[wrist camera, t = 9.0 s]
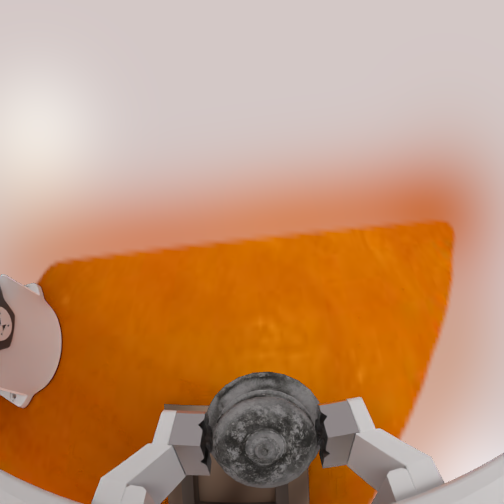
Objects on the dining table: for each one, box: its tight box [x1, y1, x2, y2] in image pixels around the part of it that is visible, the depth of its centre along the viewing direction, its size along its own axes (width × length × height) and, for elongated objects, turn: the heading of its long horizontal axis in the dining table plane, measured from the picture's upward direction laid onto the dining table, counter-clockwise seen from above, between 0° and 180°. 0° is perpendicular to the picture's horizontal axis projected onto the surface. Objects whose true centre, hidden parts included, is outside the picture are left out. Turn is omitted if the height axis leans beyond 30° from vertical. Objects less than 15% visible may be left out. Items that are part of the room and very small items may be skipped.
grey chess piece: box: [207, 372, 320, 488], centre depth 11 cm, size 6×6×12 cm
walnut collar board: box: [164, 404, 309, 504], centre depth 25 cm, size 15×15×4 cm
